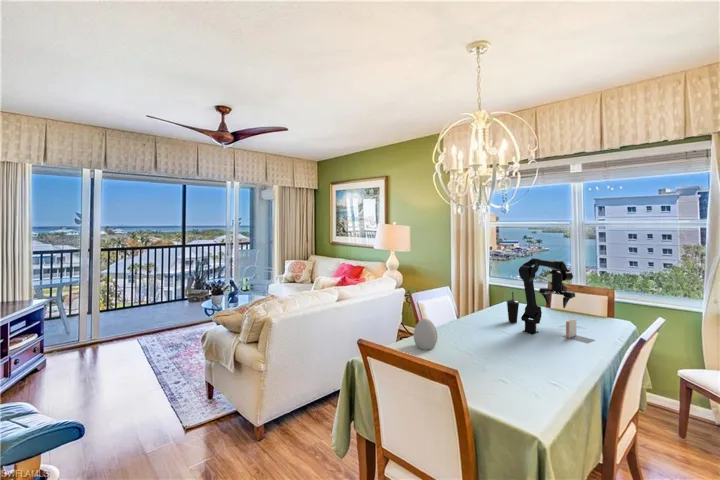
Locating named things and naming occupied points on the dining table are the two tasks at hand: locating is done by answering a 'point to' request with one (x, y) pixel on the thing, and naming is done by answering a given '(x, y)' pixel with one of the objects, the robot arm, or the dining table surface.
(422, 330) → the decorative egg
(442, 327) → the dining table surface
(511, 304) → the drinking cup
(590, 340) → the mat
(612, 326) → the dining table surface
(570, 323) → the tile
